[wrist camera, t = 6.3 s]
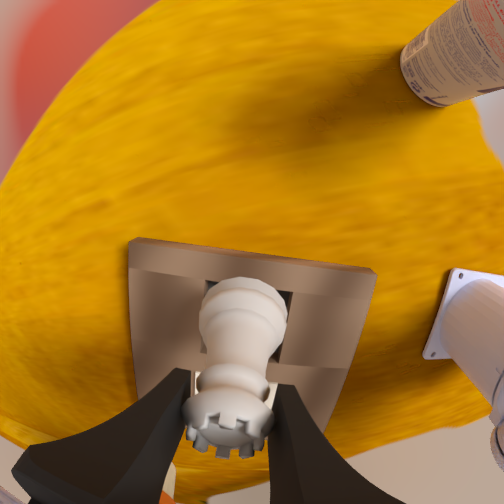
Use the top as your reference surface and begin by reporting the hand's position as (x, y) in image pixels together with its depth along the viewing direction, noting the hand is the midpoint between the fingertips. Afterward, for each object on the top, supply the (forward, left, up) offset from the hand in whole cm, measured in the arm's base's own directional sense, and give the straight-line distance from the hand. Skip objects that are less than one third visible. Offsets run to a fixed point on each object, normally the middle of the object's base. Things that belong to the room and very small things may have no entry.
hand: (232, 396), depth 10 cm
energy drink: (-11, -18, -10) cm, 24 cm away
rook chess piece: (0, -1, -6) cm, 6 cm away
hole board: (0, +5, -10) cm, 11 cm away
